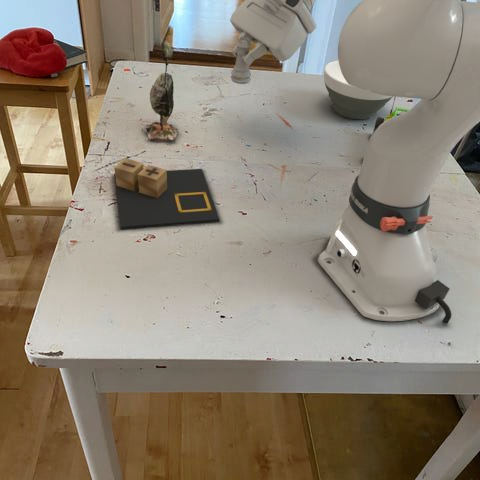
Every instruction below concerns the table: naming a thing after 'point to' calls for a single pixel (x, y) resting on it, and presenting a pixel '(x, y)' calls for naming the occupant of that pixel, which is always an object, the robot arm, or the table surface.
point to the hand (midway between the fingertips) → (239, 59)
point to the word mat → (168, 203)
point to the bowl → (350, 95)
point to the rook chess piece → (241, 63)
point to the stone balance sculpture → (163, 101)
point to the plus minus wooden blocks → (141, 177)
